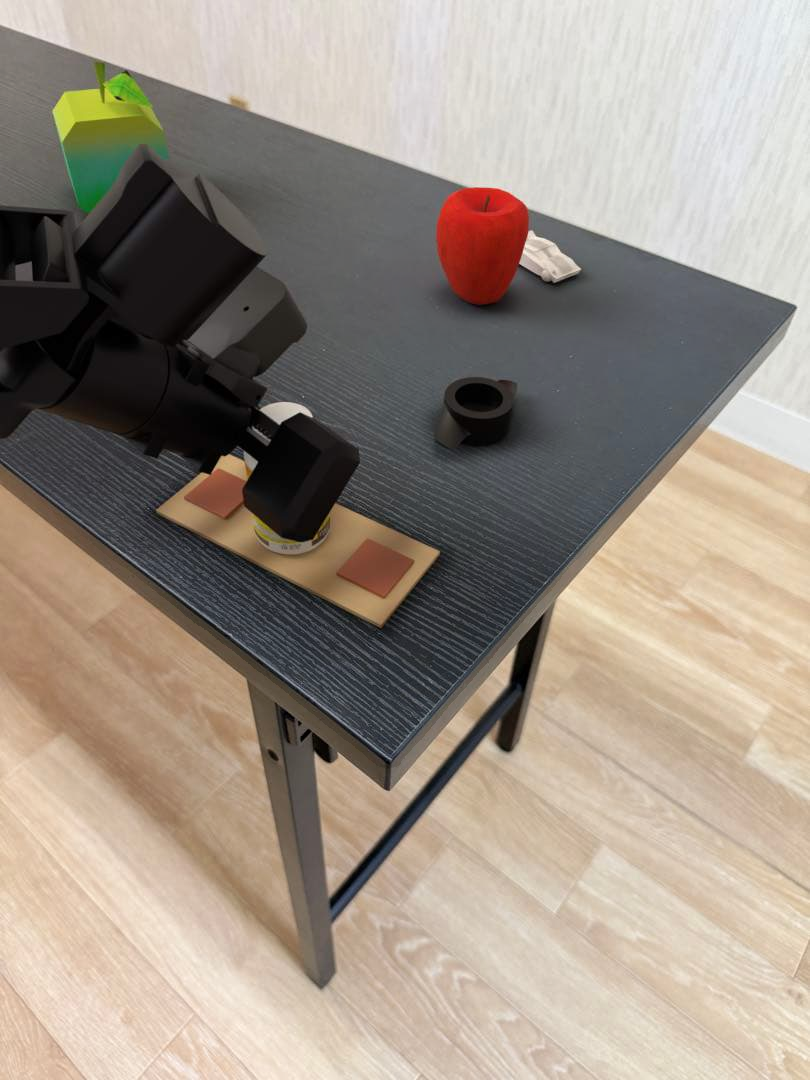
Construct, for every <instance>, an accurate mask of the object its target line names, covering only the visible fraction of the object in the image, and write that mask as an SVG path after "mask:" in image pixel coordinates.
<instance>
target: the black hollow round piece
mask: <svg viewBox="0 0 810 1080" xmlns="http://www.w3.org/2000/svg"><path fill="white" fill-rule="evenodd" d="M517 390H518V383H517V382H515V381H513V380H508V379H498V380H495V379H492V378H489V377H483V376H482V377H481V376H468V377H463V378H459V379H456V380H455V381H453V382H451V383H450V384H448V385H447V387H446V388H445V389H444V395H443V405H442V407H441V410H440V412H439V415H438V419H437V423H436V427H435V432H434V438H433V439H434V441H435V442H436V443H438V444H439V445H441V446H442V447H444V448H446V449H447V450H449V451H451V452H455V450H456V449H457V447H458V446H459V445H460V444H462V445H465V446H471V447H488V446H493V445H495V444H497V443H500V442H502V441H503V440H504V439H505V438H506V437H507V436H508V434H509V432H510V428H511V427H510V426H511V421H512V414H513V409H514V408H513V407H514V403H515V402H514V401H515V396H516V395H517Z"/></svg>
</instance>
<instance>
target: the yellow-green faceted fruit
mask: <svg viewBox="0 0 810 1080" xmlns="http://www.w3.org/2000/svg"><path fill="white" fill-rule="evenodd" d="M92 63H93V68H94V71H95V77H96V81H97V85H98V88H93V89H92V88H91V89H82V90H79V89H78V90H69V91H64V92H63V94H62V96H61V97H60V98H59V100H58V101H57V103H56V104H55V107H54V108H53V109H52V115H53V119H54V123H55V126H56V131H57V134H58V138H59V143H60V146H61V149H62V154H63V157H64V160H65V165H66V168H67V172H68V176H69V179H70V183H71V185H72V189H73V192H74V195H75V199H76V202H77V206H78V208H79V209H80V210H82V211H83V212H85V213H86V214H87V215H88V214H89V213H90V212H91V211H92V210H93V208H94V207H95V206H96V205H97V203H98V202H99V201H100V200H101V199H102V197H103V196H104V195H105V194H106V193H107V191H108V190H109V189H110V188H111V186H112V185H113V184H114V182H115V181H116V179H117V177H118V175H119V173H120V170H121V168H122V166H123V164H124V163H125V161H126V160H127V159H128V158H129V156H130V155H131V154H132V153H133V151H134V150H135V149H136V148H137V146H138V145H139V144H147V145H148V146H150V147H151V148H152V149H153V150H154V151H155V152H157V153H158V154H159V155H160V156H161V157H162V158H164V159H165V160H170V158H169V152H168V147H167V141H166V135H165V131H164V129H163V127H162V125H161V123H160V122H159V120H158V118H157V116H156V114H155V112H154V110H153V107H154V106H153V105H152V103H151V102H150V101H149V99H148V97H146V94H144V92H143V91H142V90H141V87H139V85H138V84H137V82H136V81H135V79H134V78H133V77H132V75H131V74H130V72H129V71H128V70H127V69H126V70H124V71H123V72H121V73H119V74H117V75H115V76H113V77H112V78H110V79H109V80H107V81H105V80H106V63H104V62H101V61H100V62H99V61H93V60H92Z"/></svg>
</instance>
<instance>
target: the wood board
mask: <svg viewBox="0 0 810 1080" xmlns="http://www.w3.org/2000/svg"><path fill="white" fill-rule="evenodd" d="M246 482H247V475H246V468H245V461H244V459H241V458H238V457H236V456H234V455H232V454H231V453H230V454H229V455H227V456H225V457H224V456H221V458H220V459H219V461H218V463H217V465H216V466H215V468H214V470H213V471H212V473H211V475H209V474H205V473H202V472H199V474H198V475H197V476H195V477H194V478H193V479H192V480H191V481H189V482H188V483H187V484H186V485H184V486H183V487H182V488H181V489H179V491H177V492H176V493H175V494H174V495H172V496H171V497H170V498H169V499H168V500H166V501H165V502H164V503H162V504H161V505H160V506H159V507H158V508H156V509H155V511H156V514H157V515H159V516H161V517H163V518H164V519H167V520H169V521H170V522H173V523H175V524H177V525H179V526H180V527H182V528H184V529H186V530H188V531H190V532H192V533H194V534H195V535H198V536H200V537H202V538H204V539H205V540H208V541H209V542H212V543H214V544H215V545H216V546H217V545H218V546H219V547H222V548H223V549H226V550H228V551H229V552H231V553H233V554H235V555H237V556H239V557H241V558H243V559H244V560H247V561H249V562H251V563H253V564H254V565H256V566H259V567H260V568H262V569H264V570H266V571H269V572H270V573H271V574H274V575H276V576H278V577H279V578H281V579H283V580H286V581H287V582H289V583H291V584H293V585H296V586H297V587H299V588H301V589H303V590H306V591H307V592H308V593H311V594H313V595H315V596H316V597H319V598H321V599H323V600H325V601H327V602H329V603H330V604H333V605H334V606H336V607H339V608H341V609H343V610H344V611H346V612H348V613H350V614H352V615H354V616H356V617H358V618H360V619H362V620H364V621H365V622H367V623H370V624H372V625H373V626H375V627H377V628H380V629H382V628H383V627H384V626H385V624H386V623H387V622H388V621H389V619H390V618H391V617H392V616H393V614H394V613H395V612H396V611H397V609H398V608H399V607H400V605H401V604H402V603H403V601H404V600H405V599H406V598H407V596H408V595H409V594H410V593H411V591H412V590H413V589H414V588H415V587H416V585H417V584H418V583H419V581H420V580H421V579H422V578H423V577H424V575H425V574H426V573H427V572H428V571H429V569H430V568H431V566H432V565H433V564H434V563H435V562H436V561H437V559H438V558H439V557H440V556H441V551H440V550H438V549H436V548H433V547H432V546H430V545H426V544H425V543H422V542H421V541H418V540H416V539H414V538H411V537H410V536H407V535H405V534H403V533H401V532H399V531H396V530H395V529H392V528H390V527H388V526H386V525H383V524H382V523H379V522H377V521H376V520H373V519H370V518H368V517H366V516H364V515H362V514H360V513H357V512H356V511H353V510H351V509H349V508H347V507H345V506H342V505H340V504H338V503H337V502H336V503H335V504H334V506H333V508H332V509H331V511H330V529H329V532H328V535H327V537H326V538H325V540H324V541H323V542H322V543H321V544H320V545H318V546H317V547H316V548H314V549H312V550H310V551H308V552H304V553H300V554H292V555H291V554H280V553H276V552H274V551H271V550H269V549H268V548H266V547H265V546H264V545H262V544H261V542H260V541H259V540H258V538H257V536H256V534H255V530H254V524H253V517H252V513H251V512H250V511H249V510H248V509H247V508H246V507H244V500H243V494H242V489H243V487H244V485H245V484H246Z"/></svg>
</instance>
